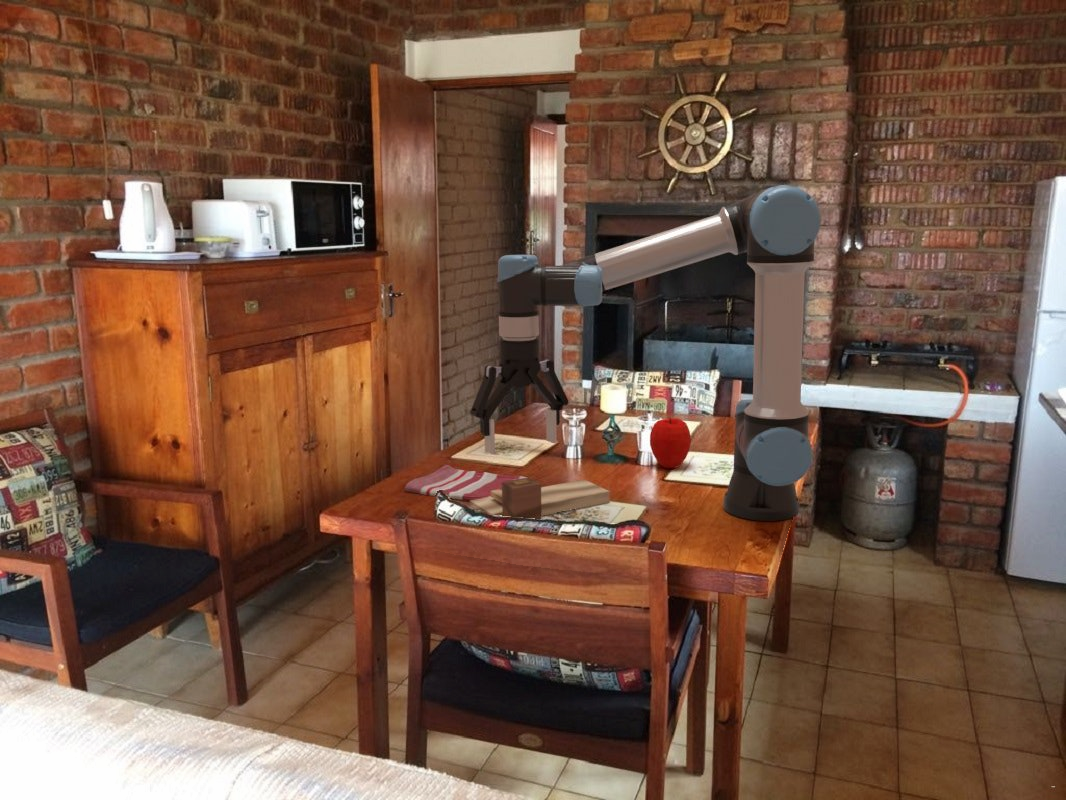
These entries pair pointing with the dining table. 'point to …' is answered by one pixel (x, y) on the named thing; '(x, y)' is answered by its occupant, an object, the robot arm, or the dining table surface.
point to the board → (555, 498)
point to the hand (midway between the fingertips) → (521, 446)
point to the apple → (670, 442)
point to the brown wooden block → (520, 498)
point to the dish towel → (459, 483)
